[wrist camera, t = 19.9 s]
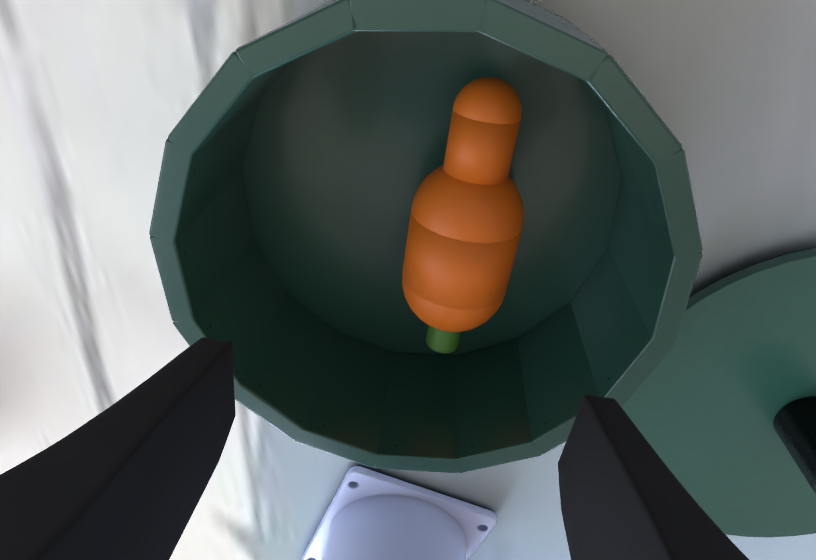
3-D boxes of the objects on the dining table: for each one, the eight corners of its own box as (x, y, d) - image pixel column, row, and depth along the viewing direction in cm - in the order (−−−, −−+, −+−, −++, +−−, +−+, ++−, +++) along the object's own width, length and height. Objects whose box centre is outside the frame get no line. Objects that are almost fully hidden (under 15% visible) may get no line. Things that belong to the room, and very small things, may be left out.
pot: (512, 401, 25) (526, 520, 20) (196, 284, 23) (121, 383, 18) (727, 95, 18) (834, 159, 13) (292, -112, 16) (213, -134, 11)
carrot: (499, 378, 20) (395, 374, 19) (480, 317, 23) (390, 312, 22) (575, 101, 15) (438, 86, 14) (538, 70, 18) (424, 57, 17)
